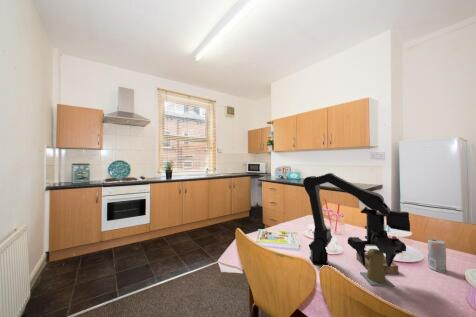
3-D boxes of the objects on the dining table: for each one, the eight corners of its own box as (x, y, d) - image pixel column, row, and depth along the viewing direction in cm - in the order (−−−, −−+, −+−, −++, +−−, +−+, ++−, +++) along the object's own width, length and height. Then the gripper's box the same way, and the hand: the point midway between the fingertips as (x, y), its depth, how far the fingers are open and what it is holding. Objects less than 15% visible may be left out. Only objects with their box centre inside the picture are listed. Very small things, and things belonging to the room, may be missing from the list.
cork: (389, 284, 72) (388, 254, 72) (370, 282, 73) (370, 253, 73) (381, 274, 78) (380, 247, 78) (364, 273, 79) (363, 246, 79)
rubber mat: (371, 285, 72) (371, 284, 72) (360, 273, 80) (360, 272, 80) (394, 287, 71) (394, 285, 71) (380, 274, 79) (380, 272, 79)
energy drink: (441, 267, 84) (440, 239, 84) (449, 273, 79) (449, 244, 79) (425, 264, 85) (425, 237, 86) (433, 271, 80) (432, 242, 81)
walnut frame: (370, 272, 80) (370, 265, 80) (356, 258, 91) (356, 252, 91) (398, 273, 79) (398, 266, 79) (381, 259, 90) (381, 253, 90)
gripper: (361, 232, 68) (362, 277, 68) (418, 234, 67) (419, 279, 67) (346, 222, 80) (347, 260, 79) (395, 223, 78) (395, 262, 78)
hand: (376, 265), depth 75 cm, fingers open, 9 cm apart
